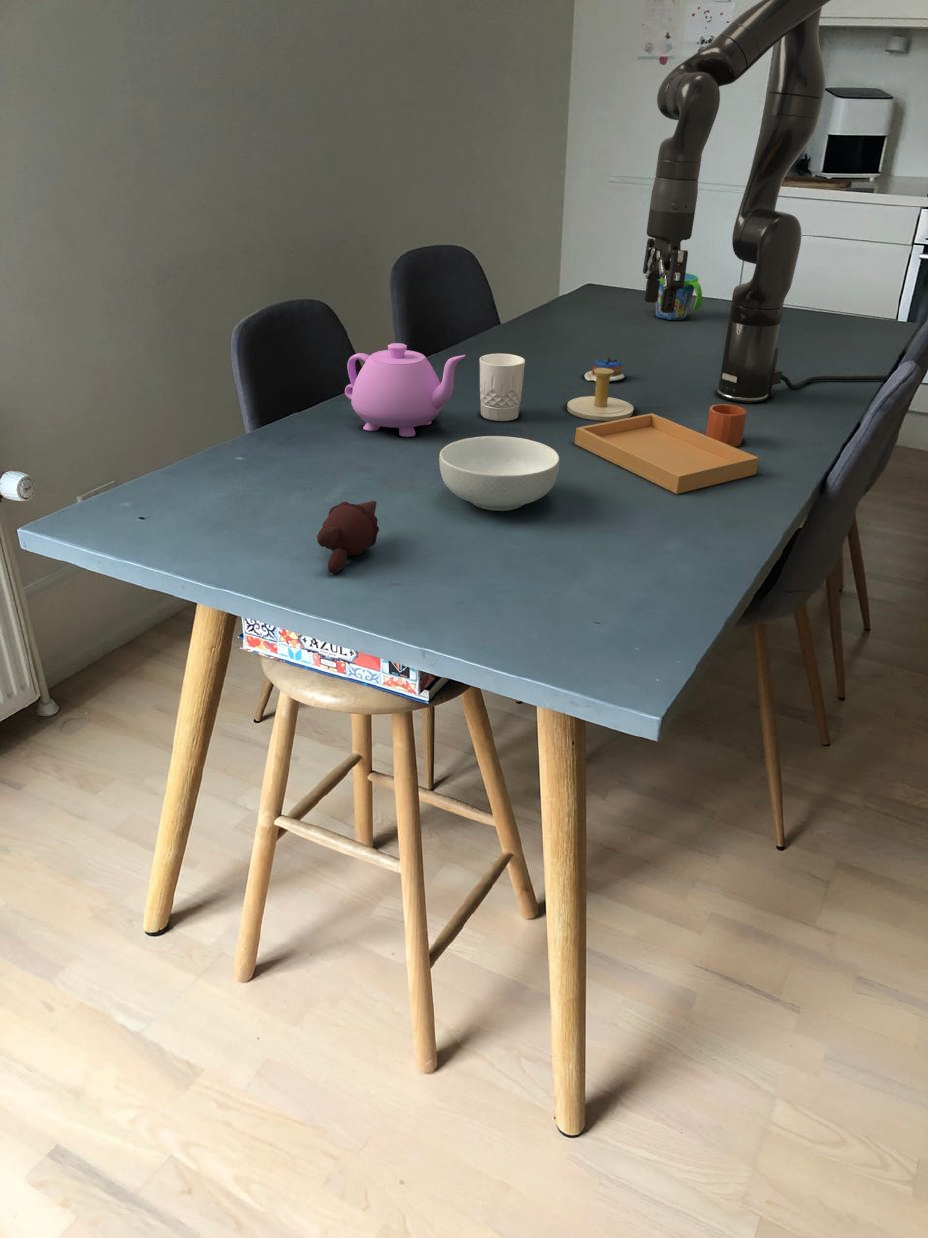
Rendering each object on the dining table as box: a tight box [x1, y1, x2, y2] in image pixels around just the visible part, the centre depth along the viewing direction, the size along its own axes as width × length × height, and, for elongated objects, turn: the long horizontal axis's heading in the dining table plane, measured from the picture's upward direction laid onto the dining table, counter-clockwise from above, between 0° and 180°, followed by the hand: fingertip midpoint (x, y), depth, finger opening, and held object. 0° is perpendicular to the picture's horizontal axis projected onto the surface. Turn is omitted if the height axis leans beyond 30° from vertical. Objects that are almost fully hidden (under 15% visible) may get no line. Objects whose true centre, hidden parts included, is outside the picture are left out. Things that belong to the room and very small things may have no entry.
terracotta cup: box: [705, 403, 747, 448], centre depth 168 cm, size 6×6×6 cm
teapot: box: [344, 342, 466, 438], centre depth 168 cm, size 22×16×14 cm
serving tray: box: [574, 412, 759, 495], centre depth 161 cm, size 17×25×3 cm
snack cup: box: [654, 272, 703, 321], centre depth 246 cm, size 16×10×10 cm
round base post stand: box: [566, 368, 635, 422], centre depth 181 cm, size 12×12×7 cm
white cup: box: [479, 353, 526, 422], centre depth 176 cm, size 8×8×10 cm
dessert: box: [584, 357, 625, 383], centre depth 200 cm, size 8×7×6 cm
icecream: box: [316, 500, 380, 574], centre depth 127 cm, size 7×7×15 cm
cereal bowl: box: [438, 435, 561, 512], centre depth 143 cm, size 17×17×7 cm
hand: (658, 306), depth 175 cm, fingers open, 8 cm apart
